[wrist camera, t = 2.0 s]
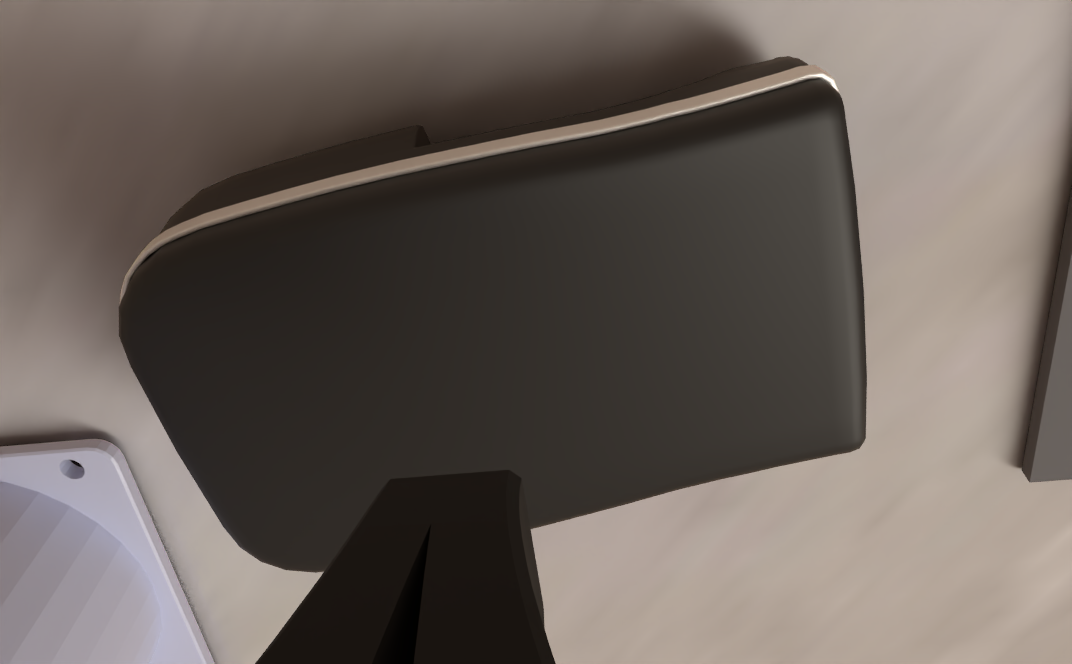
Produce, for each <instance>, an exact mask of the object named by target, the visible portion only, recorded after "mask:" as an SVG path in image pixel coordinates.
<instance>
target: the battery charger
mask: <svg viewBox="0 0 1072 664" xmlns="http://www.w3.org/2000/svg"><path fill="white" fill-rule="evenodd" d="M119 337H120V339H121V342H122V344H123V347H124V350H125V352H126V355H127V358H128V360H129V363H130V365H131V368H132V369H133V371H134V373H135V375H136V377H137V379H138V381H139V382H140V384H141V386H142V388H143V390H144V392H145V394H146V395H147V397H148V399H149V401H150V403H151V405H152V406H153V408H154V410H155V412H156V414H157V416H158V418H159V419H160V421H161V423H162V425H163V427H164V429H165V431H166V432H167V434H168V436H169V438H170V440H171V442H172V443H173V445H174V447H175V449H176V451H177V452H178V454H179V456H180V457H181V459H182V461H183V462H184V464H185V465H186V467H187V469H188V470H189V472H190V474H191V475H192V477H193V478H194V480H195V482H196V483H197V485H198V486H199V488H200V490H201V491H202V493H203V495H204V496H205V498H206V499H207V501H208V503H209V504H210V506H211V508H212V509H213V511H214V512H215V514H216V516H217V517H218V519H219V520H220V522H221V524H222V525H223V527H224V528H225V529H226V530H227V532H228V533H229V534H230V535H231V537H232V538H233V539H234V540H235V542H236V543H237V544H238V545H239V546H240V548H242V549H243V550H245V551H246V552H248V553H249V554H251V555H252V556H254V557H255V558H257V559H258V560H259V561H261V562H264V563H267V564H270V565H273V566H276V567H279V568H282V569H285V570H292V571H304V572H324V571H325V570H326V569H327V567H328V566H329V564H330V563H331V561H332V560H333V559H334V557H335V556H336V554H337V553H338V552H339V550H340V549H341V547H342V546H343V544H344V543H345V542H346V540H347V539H348V537H349V536H350V534H351V533H352V531H353V530H354V528H355V527H356V526H357V524H358V523H359V521H360V520H361V518H362V517H363V515H364V514H365V512H366V511H367V509H368V508H369V507H370V505H371V504H372V502H373V501H374V499H375V498H376V496H377V495H378V493H379V492H380V491H381V489H382V488H383V487H384V486H385V485H386V483H387V482H388V481H389V480H390V479H396V478H409V477H422V476H434V475H447V474H460V473H473V472H486V471H499V470H511V471H512V472H513V473H515V474H516V475H518V476H519V477H521V478H522V483H523V489H524V495H525V500H526V506H527V512H528V518H529V524H530V529H533V528H537V527H541V526H545V525H549V524H552V523H556V522H560V521H564V520H568V519H571V518H575V517H579V516H583V515H587V514H591V513H595V512H598V511H602V510H606V509H609V508H613V507H617V506H621V505H625V504H628V503H632V502H635V501H639V500H642V499H646V498H650V497H653V496H657V495H660V494H664V493H667V492H671V491H675V490H678V489H682V488H686V487H691V486H695V485H699V484H703V483H707V482H711V481H715V480H719V479H724V478H729V477H734V476H738V475H743V474H747V473H752V472H757V471H761V470H765V469H769V468H773V467H778V466H782V465H787V464H792V463H797V462H802V461H807V460H812V459H817V458H822V457H827V456H832V455H837V454H843V453H848V452H852V451H854V450H856V449H859V448H860V447H861V445H862V444H863V442H864V441H865V438H866V388H867V373H866V344H865V315H864V289H863V276H862V264H861V252H860V240H859V229H858V217H857V205H856V194H855V185H854V177H853V169H852V162H851V155H850V147H849V140H848V133H847V126H846V119H845V111H844V105H843V101H842V98H841V96H840V94H839V90H838V87H837V85H836V83H835V80H834V78H833V77H831V76H830V75H829V74H828V73H827V72H826V71H824V70H822V69H821V68H819V67H817V66H815V65H808V64H807V63H805V62H803V61H802V60H800V59H798V58H792V57H789V56H787V57H778V58H775V59H773V60H768V61H764V62H759V63H755V64H751V65H746V66H742V67H738V68H734V69H730V70H727V71H725V72H722V73H719V74H717V75H714V76H712V77H709V78H706V79H704V80H701V81H698V82H696V83H693V84H690V85H687V86H684V87H680V88H677V89H674V90H671V91H668V92H665V93H662V94H658V95H655V96H652V97H648V98H645V99H641V100H638V101H634V102H630V103H626V104H622V105H618V106H614V107H610V108H606V109H602V110H598V111H594V112H589V113H584V114H579V115H573V116H568V117H563V118H557V119H552V120H547V121H541V122H536V123H530V124H526V125H521V126H516V127H511V128H506V129H501V130H496V131H492V132H487V133H482V134H478V135H473V136H468V137H463V138H458V139H453V140H449V141H444V142H439V143H435V144H430V142H429V139H428V136H427V134H426V132H425V130H424V128H423V127H422V126H419V125H418V126H413V127H408V128H404V129H400V130H396V131H392V132H388V133H384V134H380V135H376V136H372V137H368V138H364V139H360V140H355V141H352V142H348V143H344V144H341V145H337V146H333V147H330V148H326V149H323V150H319V151H315V152H312V153H308V154H305V155H302V156H298V157H295V158H291V159H288V160H284V161H281V162H278V163H274V164H271V165H268V166H264V167H261V168H258V169H255V170H251V171H248V172H245V173H242V174H238V175H235V176H232V177H230V178H228V179H226V180H223V181H221V182H219V183H217V184H214V185H212V186H210V187H208V188H205V189H203V190H201V191H200V192H199V193H198V194H196V195H195V196H194V197H193V198H192V199H191V200H190V201H188V202H187V203H186V204H185V205H184V206H183V207H182V208H180V209H179V210H178V211H177V212H176V213H175V214H174V215H173V216H172V217H171V218H170V219H169V221H168V222H167V224H166V225H165V227H164V228H163V230H162V232H161V233H160V235H159V236H157V237H156V238H154V239H153V240H152V241H151V242H150V243H149V244H148V245H147V246H146V247H145V248H144V249H143V250H142V251H141V253H140V254H139V256H138V257H137V259H136V260H135V262H134V263H133V265H132V266H131V268H130V269H129V271H128V272H127V274H126V275H125V278H124V281H123V285H122V288H121V294H120V303H119Z"/></svg>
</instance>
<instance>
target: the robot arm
mask: <svg viewBox="0 0 1072 664" xmlns="http://www.w3.org/2000/svg"><path fill="white" fill-rule="evenodd" d="M70 460H74V461H76V462H78V463H80V464H81V465H82V466H83V467H78V466H77V465H75V464H73V463H72V462H71V461H70ZM0 664H215V663H214V660H213V658H212V656H211V654H210V651H209V649H208V647H207V644H206V642H205V640H204V638H203V635H202V633H201V631H200V628H199V626H198V624H197V622H196V619H195V617H194V615H193V612H192V610H191V608H190V606H189V603H188V601H187V599H186V597H185V594H184V592H183V590H182V587H181V585H180V583H179V581H178V578H177V576H176V574H175V571H174V569H173V567H172V565H171V562H170V560H169V558H168V555H167V553H166V551H165V549H164V546H163V544H162V542H161V539H160V537H159V535H158V533H157V530H156V528H155V526H154V523H153V521H152V519H151V517H150V514H149V512H148V510H147V507H146V505H145V503H144V501H143V498H142V496H141V494H140V491H139V489H138V487H137V485H136V482H135V480H134V478H133V476H132V473H131V471H130V469H129V466H128V464H127V462H126V460H125V457H124V455H123V454H122V452H121V451H120V449H119V448H118V447H116V446H115V445H114V444H112V443H110V442H108V441H105V440H103V439H84V440H72V441H60V442H49V443H37V444H25V445H14V446H2V447H0ZM255 664H555V661H554V658H553V655H552V652H551V649H550V646H549V643H548V640H547V636H546V633H545V629H544V608H543V601H542V595H541V589H540V583H539V577H538V571H537V565H536V560H535V554H534V548H533V542H532V536H531V530H530V524H529V518H528V512H527V506H526V500H525V495H524V489H523V483H522V478H521V477H519V476H518V475H516V474H515V473H513V472H512V471H511V470H499V471H486V472H473V473H460V474H447V475H434V476H422V477H409V478H396V479H390V480H389V481H388V482H387V483H386V485H385V486H384V487H383V488H382V489H381V491H380V492H379V493H378V495H377V496H376V498H375V499H374V501H373V502H372V504H371V505H370V507H369V508H368V509H367V511H366V512H365V514H364V515H363V517H362V518H361V520H360V521H359V523H358V524H357V526H356V527H355V528H354V530H353V531H352V533H351V534H350V536H349V537H348V539H347V540H346V542H345V543H344V544H343V546H342V547H341V549H340V550H339V552H338V553H337V554H336V556H335V557H334V559H333V560H332V561H331V563H330V564H329V566H328V567H327V569H326V570H325V571H324V573H323V574H322V576H321V577H320V578H319V580H318V581H317V583H316V584H315V585H314V587H313V588H312V589H311V591H310V592H309V593H308V595H307V596H306V597H305V599H304V600H303V601H302V603H301V604H300V605H299V607H298V608H297V609H296V611H295V612H294V613H293V615H292V616H291V617H290V619H289V620H288V621H287V623H286V624H285V625H284V627H283V628H282V629H281V631H280V632H279V634H278V635H277V636H276V638H275V639H274V640H273V642H272V643H271V644H270V645H269V647H268V648H267V649H266V651H265V652H264V653H263V654H262V656H261V657H260V658H259V659H258V661H257V662H256V663H255Z"/></svg>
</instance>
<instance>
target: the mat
mask: <svg viewBox="0 0 1072 664" xmlns="http://www.w3.org/2000/svg"><path fill="white" fill-rule="evenodd" d="M1022 471H1023V473H1024V474H1025V476H1026V477H1027V479H1028V481H1029V482H1041V481H1055V480H1069V479H1072V188H1071V194H1070V199H1069V205H1068V211H1067V216H1066V222H1065V228H1064V233H1063V239H1062V245H1061V250H1060V256H1059V262H1058V267H1057V273H1056V279H1055V284H1054V290H1053V296H1052V301H1051V307H1050V313H1049V318H1048V324H1047V330H1046V335H1045V341H1044V347H1043V352H1042V358H1041V364H1040V369H1039V375H1038V381H1037V386H1036V392H1035V398H1034V403H1033V409H1032V415H1031V420H1030V426H1029V432H1028V437H1027V443H1026V449H1025V454H1024V460H1023V466H1022Z"/></svg>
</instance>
